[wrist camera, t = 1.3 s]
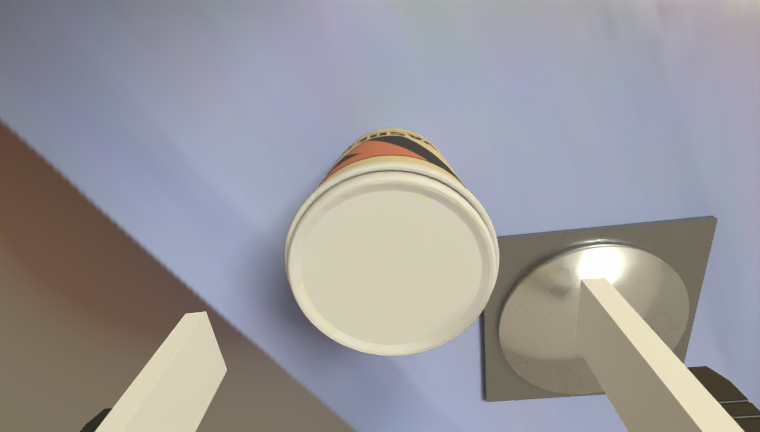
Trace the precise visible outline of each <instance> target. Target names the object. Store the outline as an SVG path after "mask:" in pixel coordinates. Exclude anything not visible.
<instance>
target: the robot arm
mask: <svg viewBox="0 0 760 432" xmlns="http://www.w3.org/2000/svg"><path fill="white" fill-rule="evenodd" d="M576 345H577V347H578V349H579V350H580V352H581V354H582V355H583V357H584V359H585V360H586V362H587V364H588V365H589V367H590V369H591V370H592V372H593V373H594V375H595V377H596V378H597V380H598V382H599V383H600V385H601V387H602V388H603V390H604V392H605V393H606V395H607V397H608V398H609V400H610V402H611V403H612V405H613V406H614V408H615V410H616V411H617V413H618V415H619V416H620V418H621V420H622V421H623V423H624V425H625V426H626V428H627V430H628V431H629V432H760V411H759V410H758V409H757V408H756V407H755V406H754V405H753V404H752V403H749V402H748V399H747V398H746V397H745V396H744V395H743V394H742V393H741V392H740V391H739V390H738V389H737V388H736V387H735V386H734V385H733V384H732V383H731V382H730V381H729V380H727V379H726V378H724V377H723V376H721V375H719V374H718V373H716V372H715V371H713V370H711V369H710V368H708V367H707V366H702V367H686V366H685V365H684V364H683V363H682V362H681V361H680V360H679V359H678V358H677V356H676V355H675V354H674V353H673V352H672V351H671V350H670V349H669V348H668V346H667V345H666V344H665V343H664V342H663V341H662V340H661V339H660V338H659V337H658V335H657V334H656V333H655V332H654V331H653V330H652V329H651V328H650V327H649V325H648V324H647V323H646V322H645V321H644V320H643V319H642V318H641V317H640V315H639V314H638V313H637V312H636V311H635V310H634V309H633V308H632V307H631V306H630V304H629V303H628V302H627V301H626V300H625V299H624V298H623V297H622V296H621V294H620V293H619V292H618V291H617V290H616V289H615V288H614V287H613V286H612V285H611V283H610V282H609V281H608V280H607V279H606V278H605V277H598V278H587V279H581V284H580V296H579V308H578V320H577V332H576ZM226 371H227V369H226V366H225V363H224V361H223V357H222V355H221V352H220V349H219V346H218V344H217V341H216V338H215V336H214V333H213V330H212V327H211V324H210V322H209V319H208V316H207V313H206V312H198V313H187V314H185V315H184V317H183V318H182V319H181V321H180V322H179V323H178V324H177V326H176V327H175V328H174V330H173V331H172V332H171V334H170V335H169V336H168V337H167V339H166V340H165V341H164V342H163V344H162V345H161V346H160V348H159V349H158V350H157V352H156V353H155V354H154V356H153V357H152V358H151V360H150V361H149V362H148V363H147V365H146V366H145V367H144V368H143V370H142V371H141V372H140V374H139V375H138V376H137V378H136V379H135V380H134V381H133V383H132V384H131V385H130V387H129V388H128V389H127V391H126V392H125V393H124V394H123V396H122V397H121V398H120V400H119V401H118V402H117V403H116V405H115V406H114V407H113V408H111V409H104V410H103V411H102V412H100V413H99V414H98V415H97V416H96V417H94V418H93V419H92V420H91V421H90V422H88V423H87V424H86V425H85V426H84V427H83V429H82V430H81V431H80V432H196V430H197V428H198V426H199V424H200V422H201V420H202V418H203V416H204V414H205V412H206V410H207V408H208V406H209V404H210V402H211V400H212V398H213V396H214V394H215V392H216V390H217V389H218V387H219V385H220V383H221V381H222V379H223V377H224V375H225V373H226Z"/></svg>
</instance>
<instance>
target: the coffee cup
mask: <svg viewBox="0 0 760 432" xmlns="http://www.w3.org/2000/svg"><path fill="white" fill-rule="evenodd" d="M285 268H286V274H287V278H288V282H289V285H290V287H291V290H292V292H293V295H294V297H295V299H296V301H297V303H298V305H299V307H300V309H301V310H302V312H303V313H304V314H305V316H306V317H307V318H308V319H309V321H310V322H311V323H312V324H313V325H314V326H315V327H316V328H317V329H318V330H320V331H321V332H322V333H324V334H325V335H326V336H328V337H329V338H331V339H332V340H334V341H336V342H338V343H340V344H342V345H344V346H346V347H349V348H351V349H354V350H357V351H361V352H365V353H368V354H374V355H384V356H402V355H412V354H416V353H420V352H424V351H428V350H432V349H434V348H436V347H439V346H441V345H443V344H445V343H447V342H449V341H451V340H453V339H454V338H456V337H457V336H459V335H460V334H461V333H463V332H464V331H465V330H466V329H467V328H468V327H469V326H470V325H472V324H473V323H474V321H475V320H476V319H477V318H478V317H479V315H480V314H481V312H482V311H483V309H484V308H485V306H486V304H487V302H488V300H489V298H490V295H491V293H492V291H493V288H494V286H495V283H496V279H497V275H498V269H499V248H498V241H497V237H496V233H495V230H494V227H493V225H492V222H491V220H490V218H489V216H488V214H487V213H486V211H485V209H484V208H483V207H482V205H481V204H480V203H479V201H478V200H477V199H476V198H475V197H474V196H473V195H472V194H471V193H470V192H469V191H468V190H467V188H466V187H465V186H464V184H463V183H462V181H461V180H460V179H459V177H458V176H457V175H456V173H455V172H454V170H453V169H452V168H451V166H450V165H449V164H448V162H447V161H446V160H445V158H444V157H443V156H442V155H441V153H440V152H439V151H438V150H437V149H436V147H435V146H434V145H433V144H432V143H430V142H429V141H428V140H427V139H425V138H424V137H422V136H421V135H419V134H417V133H415V132H412V131H409V130H405V129H399V128H386V129H380V130H376V131H373V132H370V133H368V134H366V135H364V136H362V137H360V138H359V139H358V140H356V141H355V142H354V143H353V144H352V145H351V146H350V147H349V148H348V149H347V150H346V151H345V152H344V154H343V155H342V156H341V158H340V159H339V160H338V161H337V163H336V164H335V165H334V167H333V168H332V169H331V170H330V172H329V173H328V174H327V176H326V177H325V179H324V180H323V181H322V183H321V184H320V185H319V187H318V188H317V189H316V190H315V191H314V192H313V193H312V194H311V195H310V196H309V197H308V198H307V199H306V201H305V202H304V203H303V204H302V206H301V207H300V209H299V210H298V211H297V213H296V215H295V217H294V219H293V221H292V223H291V226H290V229H289V232H288V236H287V240H286V245H285Z"/></svg>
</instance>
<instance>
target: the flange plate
mask: <svg viewBox="0 0 760 432" xmlns="http://www.w3.org/2000/svg"><path fill="white" fill-rule="evenodd" d="M716 223H717V218H715V217H713V216H706V217H696V218H686V219H675V220H665V221H655V222H644V223H634V224H624V225H613V226H603V227H593V228H582V229H572V230H562V231H551V232H541V233H531V234H521V235H510V236H500V237H497V241H498V248H499V269H498V275H497V279H496V283H495V286H494V288H493V291H492V293H491V295H490V298H489V300H488V302H487V304H486V306H485V308H484V309H483V323H484V360H485V396H486V401H487V402H493V401H509V400H524V399H540V398H555V397H571V396H586V395H601V394H606V393H605V392H604V390H603V388H602V387H601V385H600V383H599V382H598V380H597V378H596V377H595V375H594V373H593V372H592V370H591V369H590V367H589V365H588V364H587V362H586V360H585V359H584V357H583V355H582V354H581V352H580V350H579V349H578V347H577V345H576V332H577V320H578V308H579V296H580V284H581V279H587V278H598V277H605V278H606V279H607V280H608V281H609V282H610V283H611V285H612V286H613V287H614V288H615V289H616V290H617V291H618V292H619V293H620V294H621V296H622V297H623V298H624V299H625V300H626V301H627V302H628V303H629V304H630V306H631V307H632V308H633V309H634V310H635V311H636V312H637V313H638V314H639V315H640V317H641V318H642V319H643V320H644V321H645V322H646V323H647V324H648V325H649V327H650V328H651V329H652V330H653V331H654V332H655V333H656V334H657V335H658V337H659V338H660V339H661V340H662V341H663V342H664V343H665V344H666V345H667V346H668V348H669V349H670V350H671V351H672V352H673V353H674V354H675V355H676V356H677V358H678V359H679V360H680V361H681V362H682V363H683V364H684V360H685V356H686V352H687V347H688V343H689V339H690V334H691V330H692V326H693V322H694V317H695V313H696V309H697V305H698V300H699V296H700V292H701V287H702V283H703V279H704V275H705V270H706V266H707V262H708V257H709V253H710V249H711V245H712V240H713V236H714V232H715V228H716Z"/></svg>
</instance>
